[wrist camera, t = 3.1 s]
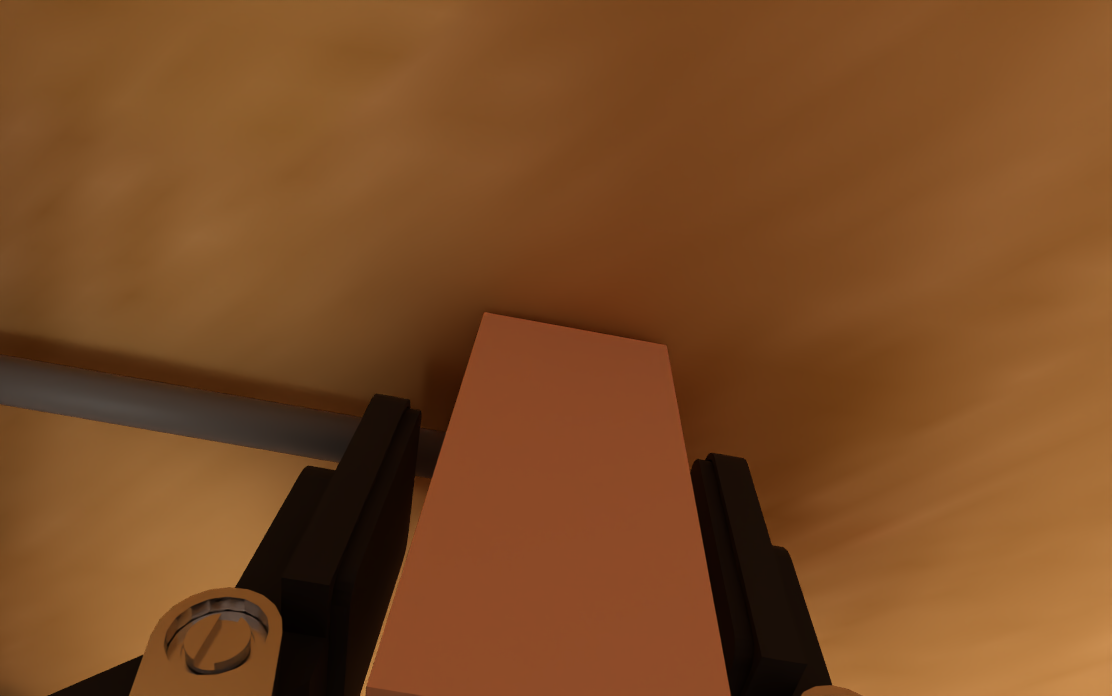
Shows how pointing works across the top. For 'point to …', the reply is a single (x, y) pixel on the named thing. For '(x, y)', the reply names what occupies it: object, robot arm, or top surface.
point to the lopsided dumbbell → (500, 513)
